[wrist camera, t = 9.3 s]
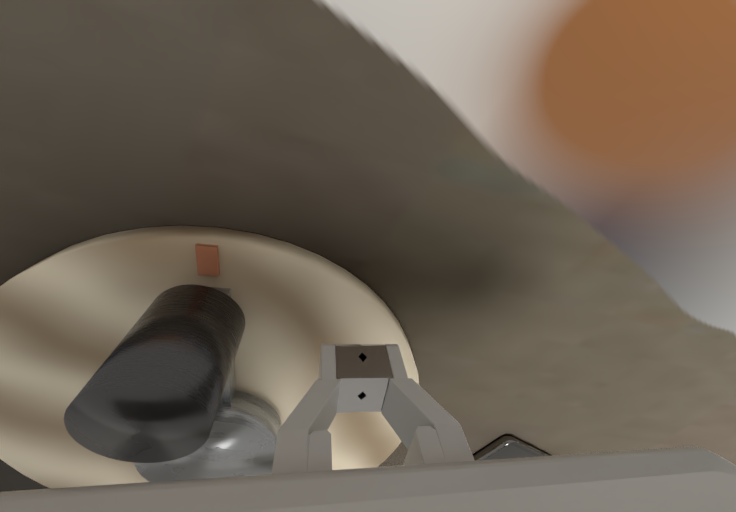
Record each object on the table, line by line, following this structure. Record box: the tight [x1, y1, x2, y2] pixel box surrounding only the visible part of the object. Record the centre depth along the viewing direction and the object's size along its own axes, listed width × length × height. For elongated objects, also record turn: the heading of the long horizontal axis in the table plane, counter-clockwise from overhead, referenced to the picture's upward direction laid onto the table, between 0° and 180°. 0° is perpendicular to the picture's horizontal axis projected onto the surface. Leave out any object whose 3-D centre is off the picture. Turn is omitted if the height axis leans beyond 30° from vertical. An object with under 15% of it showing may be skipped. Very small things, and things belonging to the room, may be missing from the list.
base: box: [0, 225, 419, 489], centre depth 18 cm, size 24×24×2 cm
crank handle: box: [64, 284, 282, 482], centre depth 13 cm, size 14×7×6 cm, turn 170°
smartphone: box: [473, 436, 551, 461], centre depth 29 cm, size 7×1×16 cm
